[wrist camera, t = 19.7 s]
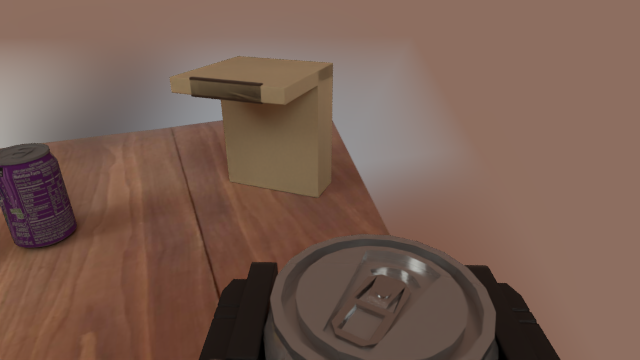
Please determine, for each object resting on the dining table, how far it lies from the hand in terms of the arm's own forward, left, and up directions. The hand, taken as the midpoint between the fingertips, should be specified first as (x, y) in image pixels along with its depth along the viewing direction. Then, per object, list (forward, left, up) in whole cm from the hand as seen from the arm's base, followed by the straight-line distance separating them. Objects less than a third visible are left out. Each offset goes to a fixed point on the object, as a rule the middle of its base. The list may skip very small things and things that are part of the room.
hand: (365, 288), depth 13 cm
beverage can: (+38, -36, -23) cm, 57 cm away
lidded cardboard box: (+10, -49, -22) cm, 55 cm away
